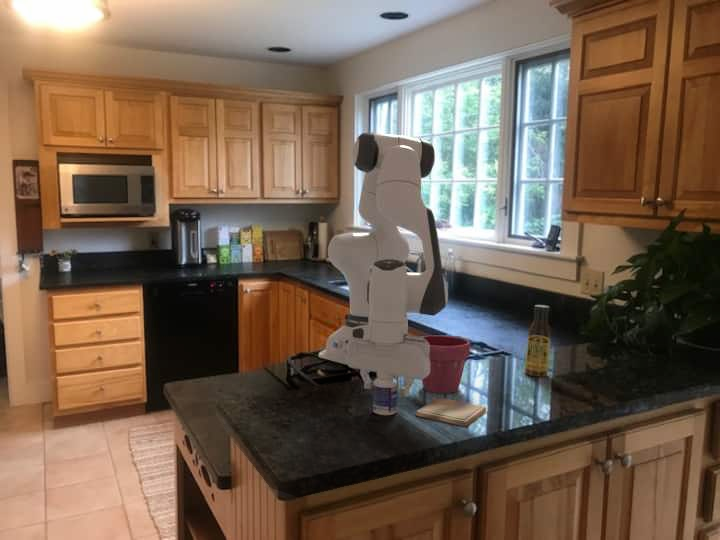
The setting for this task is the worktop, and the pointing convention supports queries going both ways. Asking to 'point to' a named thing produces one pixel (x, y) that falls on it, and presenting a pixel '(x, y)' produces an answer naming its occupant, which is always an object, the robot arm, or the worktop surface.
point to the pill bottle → (384, 394)
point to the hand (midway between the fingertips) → (386, 392)
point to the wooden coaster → (451, 411)
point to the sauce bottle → (538, 343)
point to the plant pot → (445, 363)
